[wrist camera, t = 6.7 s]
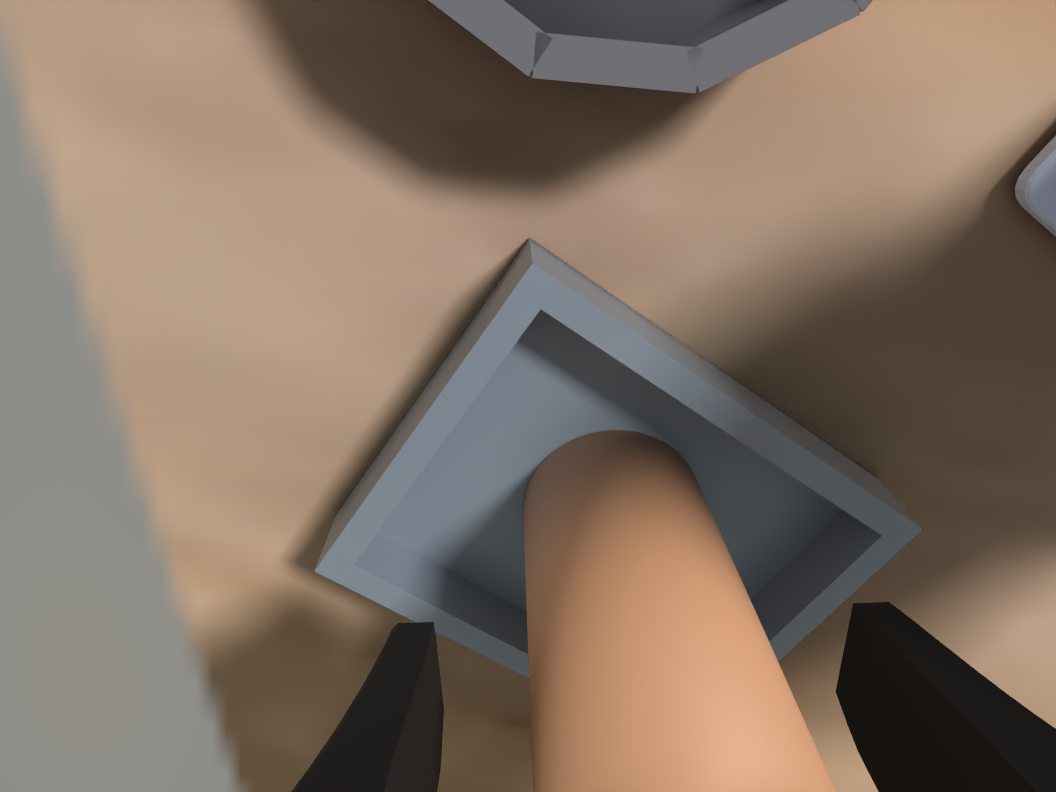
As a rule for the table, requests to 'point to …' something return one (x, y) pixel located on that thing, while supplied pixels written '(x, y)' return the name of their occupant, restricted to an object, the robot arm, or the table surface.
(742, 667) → the dowel
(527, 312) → the tray
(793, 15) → the grey round bowl
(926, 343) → the table surface
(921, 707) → the robot arm
